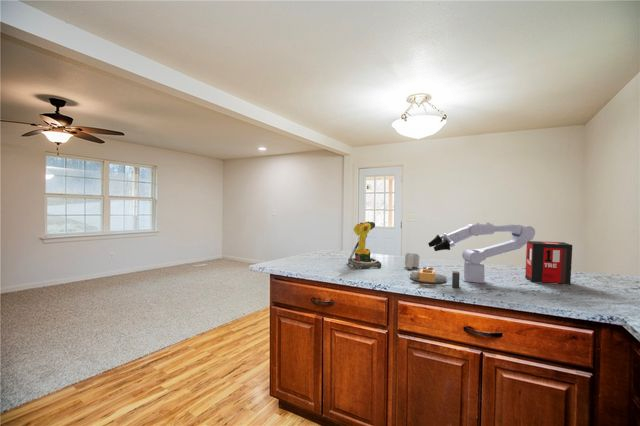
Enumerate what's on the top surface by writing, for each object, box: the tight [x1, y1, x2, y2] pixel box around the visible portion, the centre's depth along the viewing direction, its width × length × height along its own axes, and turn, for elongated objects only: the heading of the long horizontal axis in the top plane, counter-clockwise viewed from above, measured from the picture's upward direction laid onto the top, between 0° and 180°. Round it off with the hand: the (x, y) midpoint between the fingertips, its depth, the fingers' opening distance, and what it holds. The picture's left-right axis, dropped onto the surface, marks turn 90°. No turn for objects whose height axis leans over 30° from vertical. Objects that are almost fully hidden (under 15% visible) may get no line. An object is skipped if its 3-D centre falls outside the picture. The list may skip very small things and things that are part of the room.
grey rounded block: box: [404, 252, 420, 270], centre depth 185 cm, size 8×10×10 cm
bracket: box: [411, 268, 436, 282], centre depth 153 cm, size 11×9×4 cm
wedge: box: [451, 270, 460, 289], centre depth 144 cm, size 3×4×7 cm, turn 157°
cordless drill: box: [347, 221, 382, 270], centre depth 192 cm, size 18×19×28 cm
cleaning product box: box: [524, 240, 573, 286], centre depth 155 cm, size 16×9×20 cm, turn 73°
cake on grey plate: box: [409, 266, 447, 285], centre depth 159 cm, size 18×18×6 cm
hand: (431, 247), depth 157 cm, fingers open, 7 cm apart
